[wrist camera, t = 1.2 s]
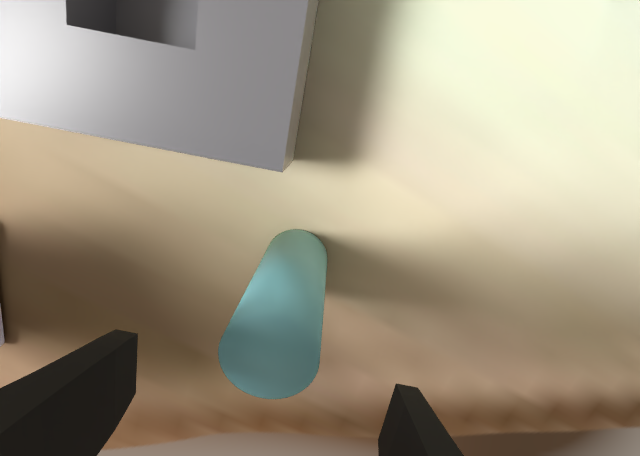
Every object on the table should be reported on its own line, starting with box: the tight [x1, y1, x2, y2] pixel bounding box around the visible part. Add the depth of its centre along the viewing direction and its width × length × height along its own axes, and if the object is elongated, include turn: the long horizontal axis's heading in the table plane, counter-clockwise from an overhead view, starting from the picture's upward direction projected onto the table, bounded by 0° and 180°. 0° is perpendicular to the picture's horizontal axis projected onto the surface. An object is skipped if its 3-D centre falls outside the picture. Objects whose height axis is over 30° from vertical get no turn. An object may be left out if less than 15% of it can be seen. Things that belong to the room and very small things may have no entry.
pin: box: [218, 229, 327, 399], centre depth 15 cm, size 3×3×8 cm
